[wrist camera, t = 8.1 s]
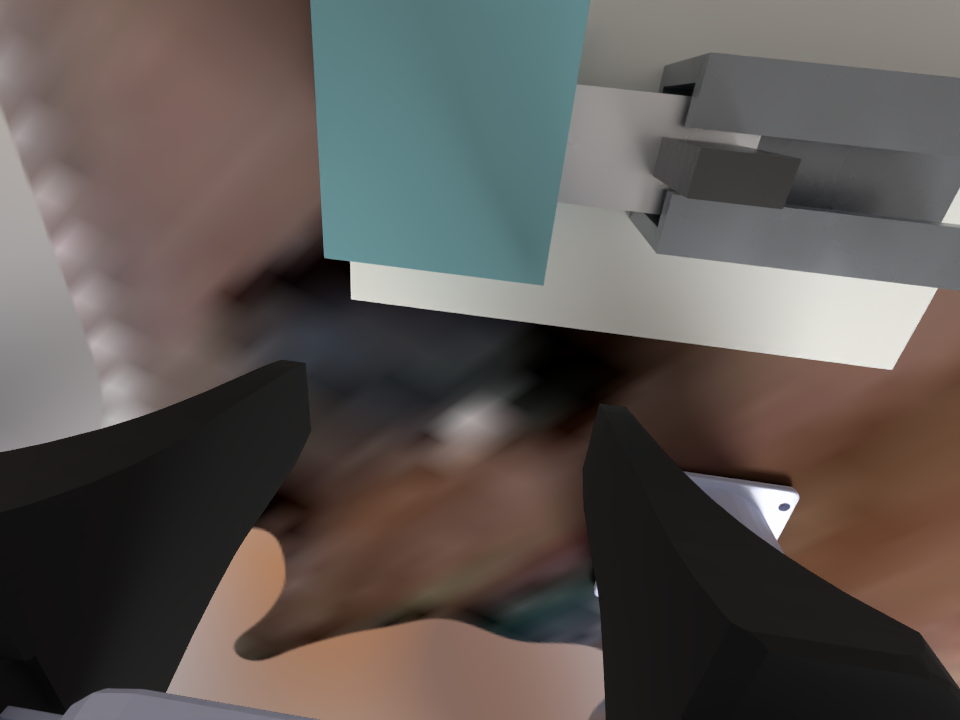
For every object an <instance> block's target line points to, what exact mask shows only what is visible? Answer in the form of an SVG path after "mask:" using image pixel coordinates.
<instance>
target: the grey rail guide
mask: <svg viewBox="0 0 960 720" xmlns="http://www.w3.org/2000/svg"><path fill="white" fill-rule="evenodd" d="M658 93H663V94H672V95H682V96H691V97H692V99H691V103H690V107H689V110H688V114H687V118H686V122H685V125H684V127H689V128H698V129H707V130H716V131H725V132H734V133H743V134H753V135H761V138H760V141H759V144H758V147H757V149H758V150H763V151H768V152H772V153H777V154H782V155H786V156H791V157H796V158H800V159H802V160H801V162H800V165H799V168H798V170H797V173H796V176H795V178H794V181H793V184H792V186H791V189H790V192H789V194H788V197H787V200H786V202H785V205H784V208H783V209H774V208H766V207H757V206H749V205H740V204H731V203H723V202H714V201H706V200H697V199H688V198H686V197H684V196H683V195H681V194H680V193H678V192H674V191H667V194H666V198H665V201H664V205H663V209H662V213H661V215H659V214H650V213H642V212H633V211H630V215H629V219H630V220H631V221H632V223H633V224H634V225H635V227H636V228H637V229H638V230H639V232H640V233H641V234H642V236H643V237H644V238H645V240H646V241H647V242H648V243H649V245H650V246H651V247H652V249H653V250H654V251H655V252H656V254H663V255H671V256H679V257H688V258H696V259H704V260H712V261H720V262H729V263H737V264H745V265H753V266H761V267H770V268H778V269H786V270H794V271H802V272H810V273H819V274H827V275H835V276H843V277H851V278H860V279H868V280H876V281H884V282H892V283H900V284H909V285H917V286H925V287H933V288H941V289H950V290H958V291H960V225H958V224H950V223H941V222H942V220H943V218H944V217H945V215H946V213H947V211H948V209H949V207H950V205H951V203H952V202H953V200H954V198H955V196H956V194H957V192H958V190H959V188H960V78H958V77H948V76H938V75H928V74H918V73H909V72H899V71H889V70H879V69H869V68H860V67H850V66H840V65H830V64H820V63H810V62H801V61H791V60H781V59H771V58H761V57H752V56H742V55H732V54H722V53H712V52H710V53H707V54H703V55H700V56H696V57H693V58H690V59H686V60H683V61H679V62H676V63H672V64H669V65H665V66H664V70H663V75H662V79H661V83H660V87H659V92H658Z"/></svg>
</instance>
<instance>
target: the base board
mask: <svg viewBox="0 0 960 720" xmlns="http://www.w3.org/2000/svg"><path fill="white" fill-rule="evenodd" d="M710 52H712V53H722V54H732V55H742V56H752V57H761V58H771V59H781V60H791V61H801V62H810V63H820V64H830V65H840V66H850V67H860V68H869V69H879V70H889V71H899V72H909V73H918V74H928V75H938V76H948V77H958V78H960V0H590V6H589V12H588V18H587V24H586V30H585V36H584V43H583V49H582V55H581V61H580V67H579V73H578V79H577V84H578V85H588V86H597V87H607V88H616V89H625V90H635V91H644V92H653V93H658V92H659V87H660V83H661V79H662V75H663V70H664V66H665V65H669V64H672V63H676V62H679V61H683V60H686V59H690V58H693V57H696V56H700V55H703V54H707V53H710ZM629 215H630V211H625V210H616V209H608V208H599V207H591V206H583V205H574V204H566V203H557V207H556V213H555V219H554V225H553V231H552V237H551V243H550V249H549V255H548V261H547V268H546V274H545V280H544V286H542V285H534V284H526V283H518V282H510V281H502V280H494V279H487V278H479V277H471V276H463V275H455V274H447V273H439V272H431V271H423V270H416V269H408V268H400V267H392V266H384V265H376V264H368V263H360V262H352V261H350V276H351V299H353V300H361V301H368V302H376V303H384V304H391V305H399V306H407V307H414V308H422V309H430V310H437V311H445V312H453V313H460V314H468V315H476V316H483V317H491V318H498V319H506V320H514V321H521V322H529V323H537V324H544V325H552V326H560V327H567V328H575V329H583V330H590V331H598V332H606V333H613V334H621V335H629V336H636V337H644V338H652V339H659V340H667V341H675V342H682V343H690V344H698V345H705V346H713V347H721V348H728V349H736V350H744V351H751V352H759V353H767V354H774V355H782V356H790V357H797V358H805V359H813V360H820V361H828V362H836V363H843V364H851V365H859V366H866V367H874V368H881V369H889V370H892V369H893V367H894V365H895V364H896V362H897V360H898V358H899V357H900V355H901V353H902V351H903V349H904V348H905V346H906V344H907V342H908V341H909V339H910V337H911V335H912V333H913V332H914V330H915V328H916V326H917V325H918V323H919V321H920V319H921V317H922V316H923V314H924V312H925V310H926V309H927V307H928V305H929V303H930V301H931V300H932V298H933V296H934V294H935V293H936V291H937V289H938V288H933V287H925V286H917V285H909V284H900V283H892V282H884V281H876V280H868V279H860V278H851V277H843V276H835V275H827V274H819V273H810V272H802V271H794V270H786V269H778V268H770V267H761V266H753V265H745V264H737V263H729V262H720V261H712V260H704V259H696V258H688V257H679V256H671V255H663V254H656V252H655V251H654V250H653V249H652V247H651V246H650V245H649V243H648V242H647V241H646V240H645V238H644V237H643V236H642V234H641V233H640V232H639V230H638V229H637V228H636V227H635V225H634V224H633V223H632V221H631V220H630V219H629ZM941 223H950V224H958V225H960V188H959V190H958V192H957V194H956V196H955V198H954V200H953V202H952V203H951V205H950V207H949V209H948V211H947V213H946V215H945V217H944V218H943V220H942V222H941Z"/></svg>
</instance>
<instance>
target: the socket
mask: <svg viewBox="0 0 960 720" xmlns="http://www.w3.org/2000/svg"><path fill="white" fill-rule="evenodd" d="M310 6H311V24H312V42H313V61H314V79H315V97H316V116H317V134H318V152H319V170H320V189H321V207H322V225H323V244H324V258H329V259H337V260H344V261H352V262H360V263H368V264H376V265H384V266H392V267H400V268H408V269H416V270H423V271H431V272H439V273H447V274H455V275H463V276H471V277H479V278H487V279H494V280H502V281H510V282H518V283H526V284H534V285H542V286H544V280H545V274H546V268H547V261H548V255H549V249H550V243H551V237H552V231H553V225H554V219H555V213H556V207H557V201H558V195H559V189H560V182H561V176H562V170H563V164H564V158H565V152H566V146H567V140H568V134H569V128H570V122H571V116H572V109H573V103H574V97H575V91H576V85H577V79H578V73H579V67H580V61H581V55H582V49H583V43H584V36H585V30H586V24H587V18H588V12H589V6H590V0H310Z"/></svg>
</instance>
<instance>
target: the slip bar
mask: <svg viewBox="0 0 960 720" xmlns="http://www.w3.org/2000/svg"><path fill="white" fill-rule="evenodd" d="M691 99H692V97H691V96H682V95H672V94H663V93H653V92H644V91H635V90H625V89H616V88H607V87H597V86H588V85H578V84H577V85H576V91H575V97H574V103H573V109H572V116H571V122H570V128H569V134H568V140H567V146H566V152H565V158H564V164H563V170H562V176H561V182H560V189H559V195H558V201H557V203H566V204H574V205H583V206H591V207H599V208H608V209H616V210H625V211H633V212H642V213H650V214H659V215H661V213H662V209H663V205H664V201H665V198H666V194H667V191H674V192H678V193H680V194H681V195H683V196H684V197H686V198H688V199H697V200H706V201H714V202H723V203H731V204H740V205H749V206H757V207H766V208H774V209H783V208H784V205H785V202H786V200H787V197H788V194H789V192H790V189H791V186H792V184H793V181H794V178H795V176H796V173H797V170H798V168H799V165H800V162H801V160H802V159H800V158H796V157H791V156H786V155H782V154H777V153H772V152H768V151H763V150H758V149H757V147H758V144H759V141H760V138H761V135H753V134H743V133H734V132H725V131H716V130H707V129H698V128H689V127H684V125H685V122H686V118H687V114H688V110H689V107H690V103H691Z"/></svg>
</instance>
